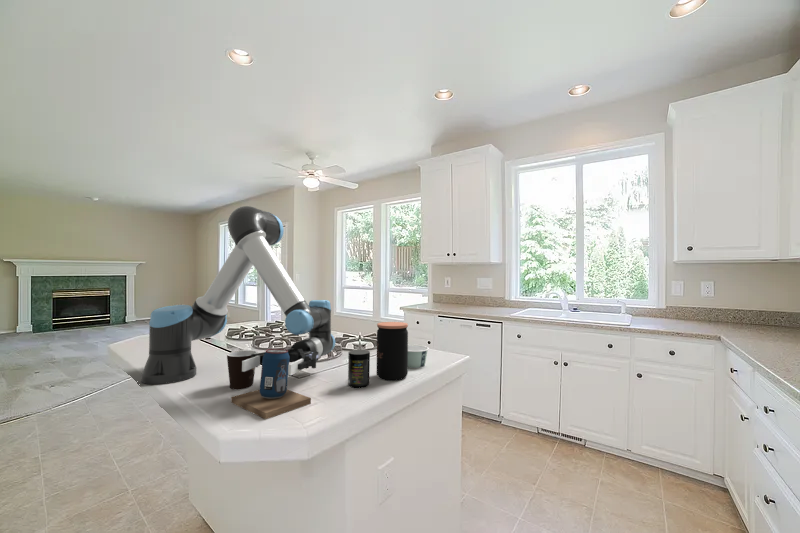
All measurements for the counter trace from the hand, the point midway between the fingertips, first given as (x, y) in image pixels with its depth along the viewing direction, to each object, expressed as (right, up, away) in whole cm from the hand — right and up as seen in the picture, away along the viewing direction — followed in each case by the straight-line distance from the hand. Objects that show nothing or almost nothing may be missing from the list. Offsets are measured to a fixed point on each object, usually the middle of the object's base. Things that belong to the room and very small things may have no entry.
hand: (265, 368), depth 88 cm
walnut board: (0, -10, +3) cm, 10 cm away
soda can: (+1, -9, +3) cm, 9 cm away
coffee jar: (+32, -11, +28) cm, 44 cm away
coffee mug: (-14, -11, +18) cm, 25 cm away
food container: (+40, -12, +44) cm, 61 cm away
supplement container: (+22, -11, +18) cm, 30 cm away
